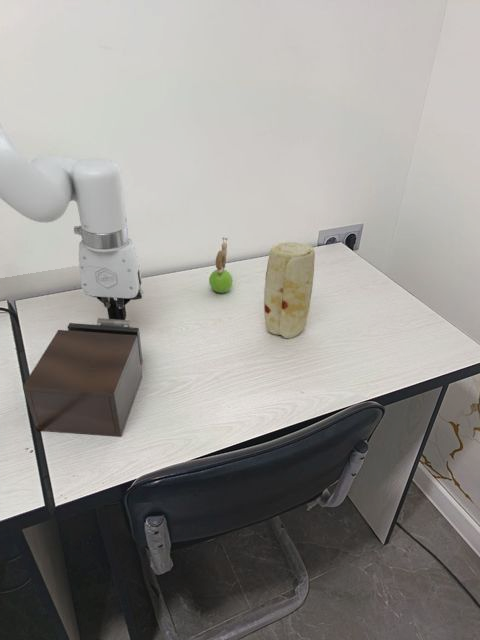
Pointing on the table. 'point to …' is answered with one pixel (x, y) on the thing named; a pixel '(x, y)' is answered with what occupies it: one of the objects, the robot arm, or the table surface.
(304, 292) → the food model
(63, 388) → the dark wooden cabinet
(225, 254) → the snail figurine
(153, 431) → the table surface
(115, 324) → the drawer
